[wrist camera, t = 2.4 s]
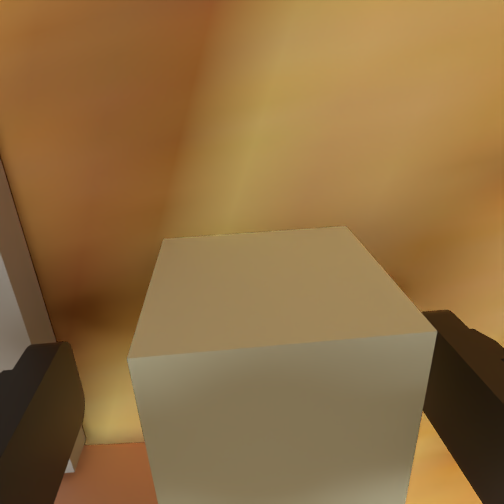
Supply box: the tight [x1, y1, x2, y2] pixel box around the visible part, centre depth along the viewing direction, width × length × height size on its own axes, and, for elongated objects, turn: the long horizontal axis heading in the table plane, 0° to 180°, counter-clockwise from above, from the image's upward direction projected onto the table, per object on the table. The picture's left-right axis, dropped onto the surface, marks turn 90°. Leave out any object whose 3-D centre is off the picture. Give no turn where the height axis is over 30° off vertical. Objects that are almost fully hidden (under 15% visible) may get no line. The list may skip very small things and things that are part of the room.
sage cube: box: [127, 226, 437, 504], centre depth 10 cm, size 5×5×5 cm
